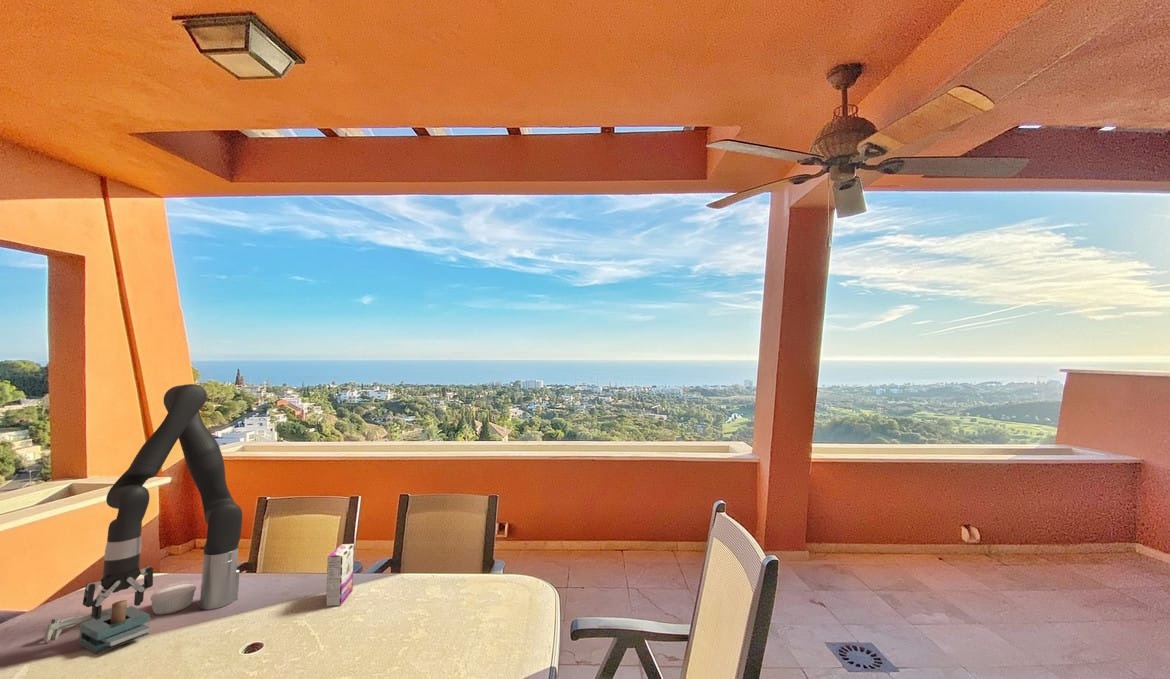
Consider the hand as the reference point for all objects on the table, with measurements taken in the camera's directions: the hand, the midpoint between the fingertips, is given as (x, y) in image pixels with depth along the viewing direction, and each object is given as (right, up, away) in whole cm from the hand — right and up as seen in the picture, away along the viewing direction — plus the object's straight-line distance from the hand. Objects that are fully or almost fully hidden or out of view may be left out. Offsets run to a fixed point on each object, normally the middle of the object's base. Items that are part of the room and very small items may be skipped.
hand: (117, 611), depth 131 cm
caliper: (-17, -9, +7) cm, 21 cm away
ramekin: (0, -10, +18) cm, 20 cm away
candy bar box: (+52, -10, +24) cm, 58 cm away
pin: (0, -8, 0) cm, 8 cm away
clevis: (+1, -8, -1) cm, 8 cm away
